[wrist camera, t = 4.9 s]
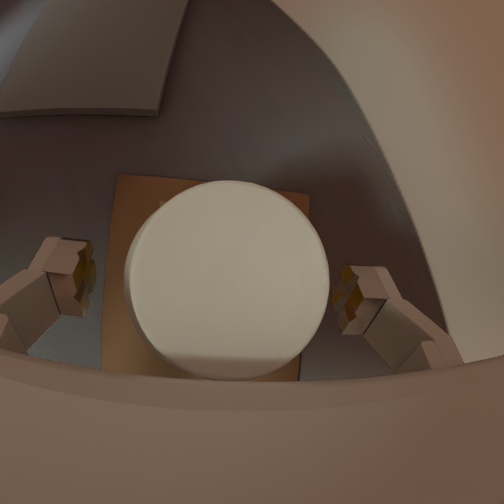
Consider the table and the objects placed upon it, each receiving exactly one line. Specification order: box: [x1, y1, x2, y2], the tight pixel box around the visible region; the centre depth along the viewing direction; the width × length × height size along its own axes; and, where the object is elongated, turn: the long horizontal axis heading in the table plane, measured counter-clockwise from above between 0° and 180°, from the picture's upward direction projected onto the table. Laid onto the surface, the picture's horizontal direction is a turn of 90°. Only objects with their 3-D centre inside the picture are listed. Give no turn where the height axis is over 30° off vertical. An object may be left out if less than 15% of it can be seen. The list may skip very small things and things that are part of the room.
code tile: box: [101, 174, 310, 382], centre depth 16 cm, size 10×10×1 cm
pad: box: [0, 0, 190, 118], centre depth 15 cm, size 11×11×1 cm
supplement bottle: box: [124, 180, 330, 381], centre depth 11 cm, size 5×5×10 cm
